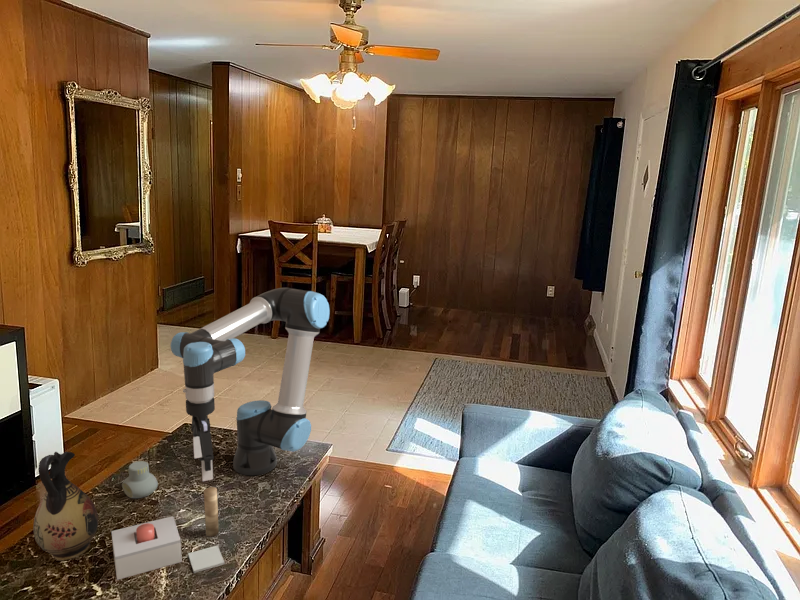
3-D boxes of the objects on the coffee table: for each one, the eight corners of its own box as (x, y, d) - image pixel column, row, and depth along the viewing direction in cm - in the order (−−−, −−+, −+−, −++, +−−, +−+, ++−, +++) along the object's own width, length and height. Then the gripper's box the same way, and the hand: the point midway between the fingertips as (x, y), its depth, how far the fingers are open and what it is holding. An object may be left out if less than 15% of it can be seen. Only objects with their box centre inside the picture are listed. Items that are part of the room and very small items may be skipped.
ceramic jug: (58, 531, 173) (47, 436, 166) (110, 533, 173) (102, 439, 166) (19, 571, 157) (5, 467, 150) (78, 574, 157) (66, 471, 149)
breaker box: (174, 536, 173) (173, 516, 171) (181, 561, 163) (180, 539, 161) (113, 552, 165) (111, 531, 163) (117, 579, 155) (115, 557, 153)
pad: (217, 547, 169) (217, 545, 169) (224, 564, 162) (224, 562, 162) (188, 555, 165) (188, 553, 165) (193, 573, 159) (193, 571, 158)
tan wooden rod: (217, 528, 177) (215, 485, 174) (220, 535, 174) (218, 492, 171) (204, 531, 176) (202, 488, 172) (207, 538, 173) (205, 495, 169)
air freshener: (120, 491, 194) (117, 463, 192) (144, 482, 200) (142, 454, 198) (136, 505, 187) (134, 476, 185) (161, 494, 193) (159, 466, 191)
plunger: (153, 537, 166) (152, 521, 165) (156, 546, 162) (155, 530, 161) (136, 542, 164) (135, 526, 163) (138, 551, 160) (137, 535, 159)
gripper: (179, 384, 174) (182, 450, 179) (193, 418, 153) (197, 493, 158) (205, 380, 177) (208, 446, 182) (223, 413, 156) (226, 486, 161)
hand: (203, 468), depth 170 cm, fingers open, 13 cm apart
